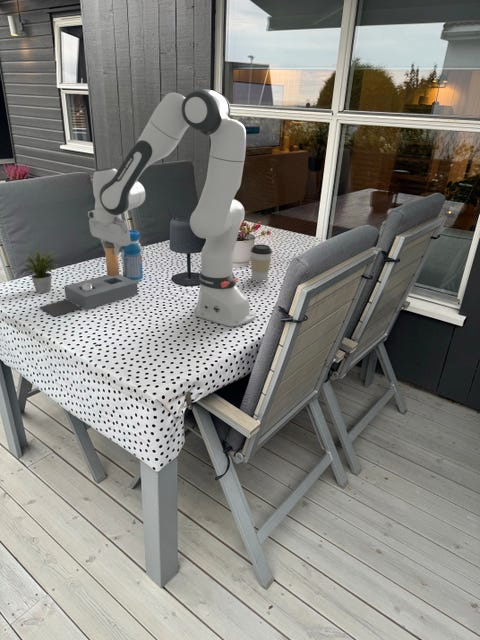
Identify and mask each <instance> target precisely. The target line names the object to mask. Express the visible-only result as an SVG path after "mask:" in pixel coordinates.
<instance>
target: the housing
mask: <svg viewBox="0 0 480 640" xmlns="http://www.w3.org/2000/svg"><path fill="white" fill-rule="evenodd" d="M83 283H92V289H91V290H88V291H84V290H82V284H83ZM138 290H139V289H138V281H137V282H135V281H133V280H131V279H129V278H126V277H124V276H123V274H122V275H121V274H119V275H116V276H109V275H107V274H106V275H102V276H98V277H94V278H90V279H86V280H82V281H79V282H74V283H70V284H66V285H64V295H65V300H68V301H70V302H71V303H73V304H75V305H77V306H79V307H80V308H81V309H84V310H86V311H88V310H89V311H90V310H92V309H95V308H98V307H101V306H105V305H108V304H112V303H114V302H117V301H121V300H124V299H127V298H130V297H134V296H137V295H139V291H138Z"/></svg>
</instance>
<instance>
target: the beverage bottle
mask: <svg viewBox="0 0 480 640" xmlns="http://www.w3.org/2000/svg"><path fill="white" fill-rule="evenodd" d="M129 233H130V240H131V243H130V245H128V246H121V247H120V250H121V254H120V257H121V260H122V261H121V262H122V263H121V264H122V276H124V277H126V278H129V279H131V280H133V281H135V282H137V283H138V282H140V281H142V280H143V278H144V275H143V252H142V250H143V247H142V245H141V243H140V242H139V241H140V238H141V237H140V232H139V231H138V230H136V229H129Z"/></svg>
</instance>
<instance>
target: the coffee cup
mask: <svg viewBox="0 0 480 640" xmlns="http://www.w3.org/2000/svg"><path fill="white" fill-rule="evenodd" d="M250 252H251V255H250V259H251V260H250V264H251V265H250V268H251V280H252V279H254V280H257V281H263V280H266V279H267V280H268V275H269V271H270V266H271V259H272V253H273V251H272V249H271V247H270V246H269V245H267V244H254V245H253V246H252V247H251V249H250ZM254 280H253V281H254ZM267 280H266V281H267ZM257 281H256V282H257Z"/></svg>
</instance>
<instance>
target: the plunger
mask: <svg viewBox="0 0 480 640" xmlns="http://www.w3.org/2000/svg"><path fill="white" fill-rule="evenodd" d="M91 289H92V283H83V284H82V290H84V291H88V290H91Z"/></svg>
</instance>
